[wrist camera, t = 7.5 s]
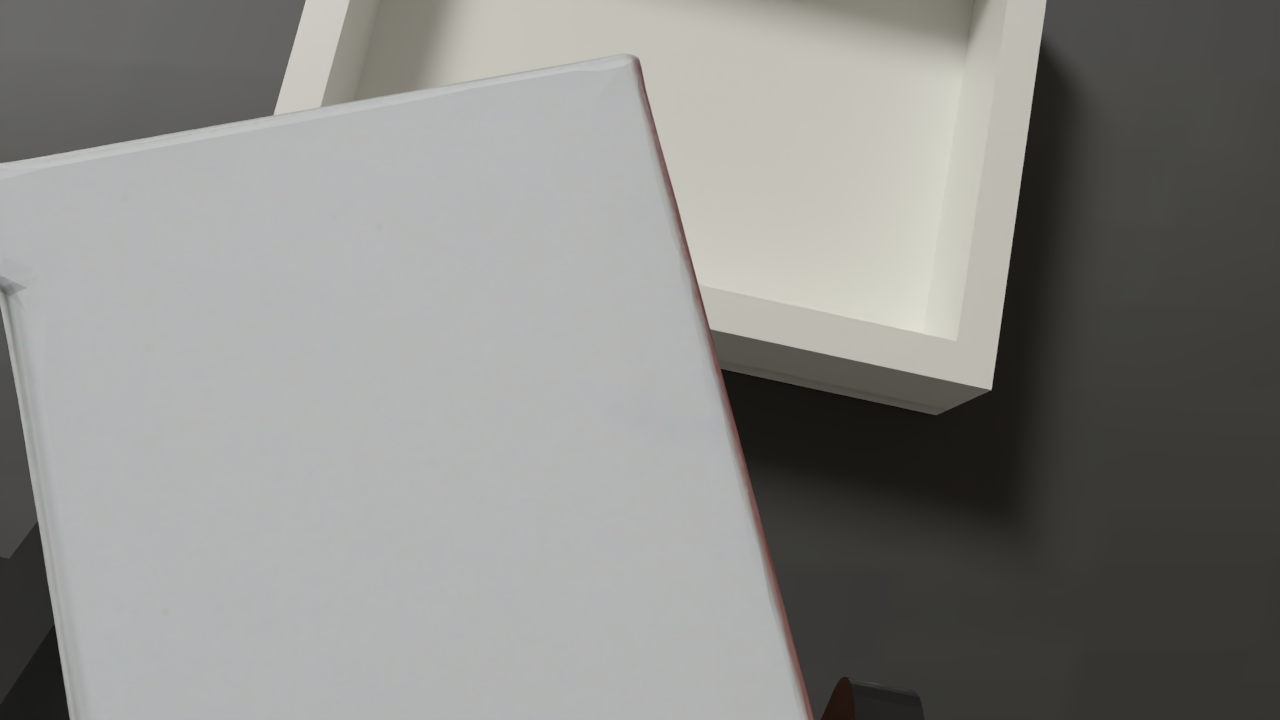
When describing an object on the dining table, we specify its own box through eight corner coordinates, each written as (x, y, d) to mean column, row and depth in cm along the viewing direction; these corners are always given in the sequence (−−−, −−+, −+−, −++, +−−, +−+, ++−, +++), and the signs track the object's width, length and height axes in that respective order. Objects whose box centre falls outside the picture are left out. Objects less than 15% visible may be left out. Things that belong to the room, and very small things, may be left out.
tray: (277, 273, 32) (241, 227, 28) (394, -156, 35) (377, -252, 31) (936, 415, 33) (991, 389, 29) (1000, -15, 35) (1059, -91, 32)
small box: (698, 798, 19) (912, 1028, 9) (344, 895, 18) (123, 1274, 8) (583, 315, 20) (651, 26, 10) (248, 387, 20) (-46, 152, 9)
